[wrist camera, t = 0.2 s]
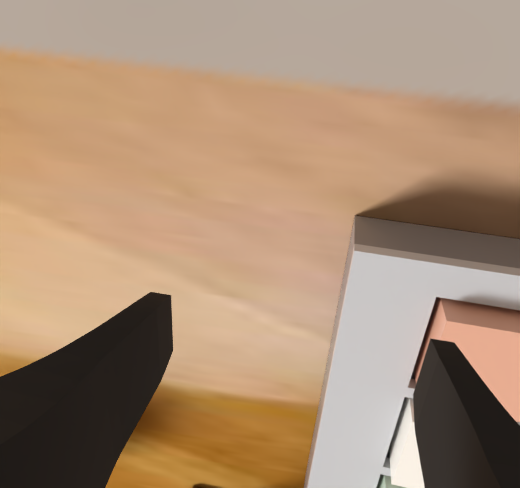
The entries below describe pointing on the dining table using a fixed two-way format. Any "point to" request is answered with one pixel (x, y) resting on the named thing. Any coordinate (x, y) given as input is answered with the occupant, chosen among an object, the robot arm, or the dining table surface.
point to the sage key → (386, 482)
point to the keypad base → (394, 334)
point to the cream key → (405, 450)
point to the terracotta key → (481, 344)
